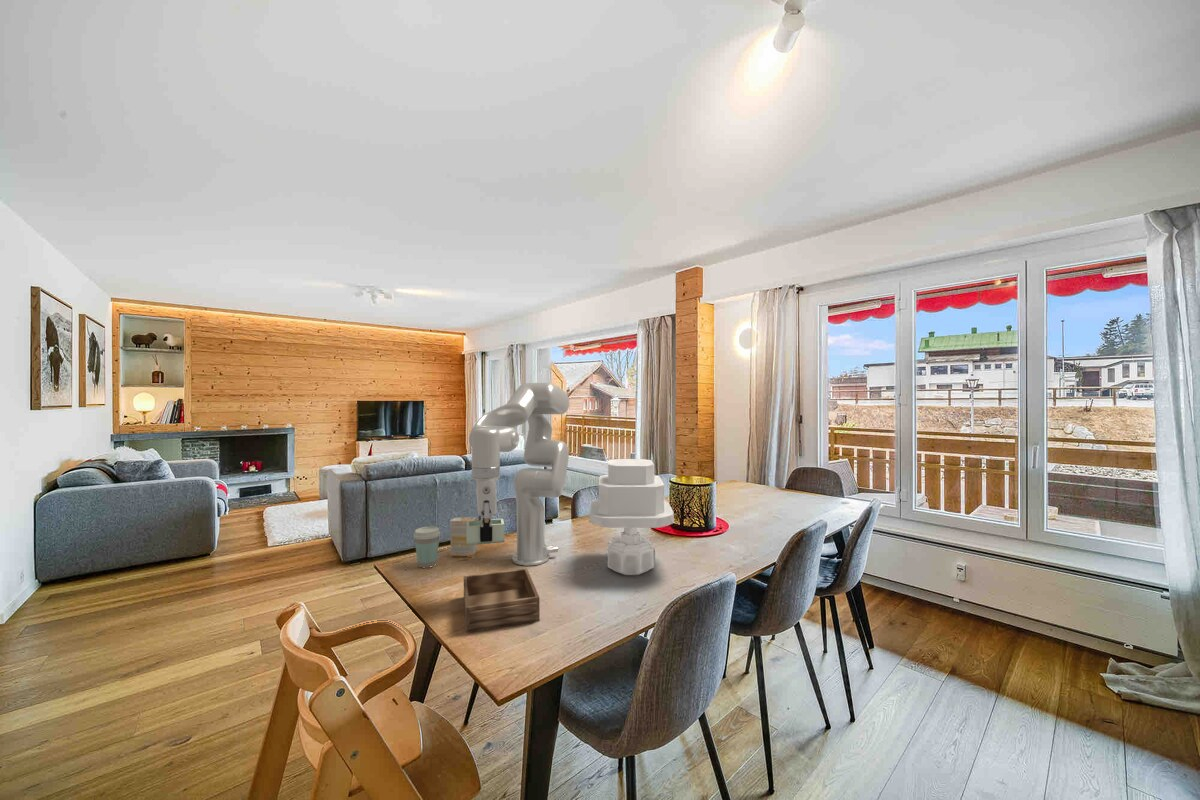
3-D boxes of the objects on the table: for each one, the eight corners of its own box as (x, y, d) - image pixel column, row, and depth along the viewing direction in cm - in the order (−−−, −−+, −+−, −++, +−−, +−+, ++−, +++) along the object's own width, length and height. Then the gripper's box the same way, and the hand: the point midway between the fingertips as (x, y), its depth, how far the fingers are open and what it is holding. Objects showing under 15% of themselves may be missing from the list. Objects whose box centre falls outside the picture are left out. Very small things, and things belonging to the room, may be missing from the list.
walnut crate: (527, 588, 136) (526, 568, 136) (540, 622, 116) (540, 598, 116) (463, 597, 130) (463, 576, 130) (466, 634, 110) (465, 609, 110)
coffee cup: (446, 562, 157) (445, 527, 157) (429, 571, 149) (428, 534, 149) (425, 559, 160) (425, 524, 159) (407, 568, 152) (407, 532, 151)
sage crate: (502, 535, 132) (502, 518, 132) (504, 542, 126) (504, 524, 126) (466, 538, 129) (466, 521, 129) (466, 545, 123) (466, 526, 123)
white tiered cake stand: (676, 585, 138) (677, 469, 137) (588, 584, 138) (587, 469, 137) (665, 553, 164) (665, 456, 164) (591, 553, 165) (591, 456, 164)
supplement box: (477, 552, 166) (477, 516, 165) (472, 557, 161) (472, 520, 161) (455, 552, 166) (455, 516, 166) (450, 557, 162) (449, 520, 161)
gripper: (501, 477, 120) (501, 546, 120) (497, 467, 137) (497, 528, 137) (471, 478, 118) (471, 548, 118) (471, 468, 135) (471, 530, 135)
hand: (485, 536), depth 127 cm, fingers closed on sage crate, 6 cm apart
